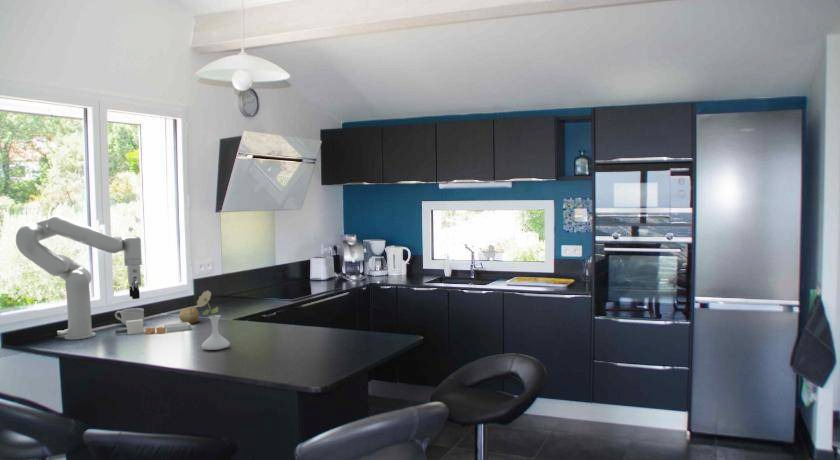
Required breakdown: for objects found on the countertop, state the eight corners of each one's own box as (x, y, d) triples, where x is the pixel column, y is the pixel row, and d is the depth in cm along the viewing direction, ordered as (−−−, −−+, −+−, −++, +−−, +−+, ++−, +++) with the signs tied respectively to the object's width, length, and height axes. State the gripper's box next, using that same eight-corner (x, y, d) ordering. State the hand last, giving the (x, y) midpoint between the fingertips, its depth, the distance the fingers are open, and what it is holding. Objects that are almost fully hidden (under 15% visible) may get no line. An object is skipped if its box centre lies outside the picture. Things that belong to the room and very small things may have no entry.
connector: (116, 336, 294) (115, 323, 294) (115, 334, 297) (114, 322, 297) (143, 332, 300) (143, 320, 300) (142, 331, 303) (142, 319, 303)
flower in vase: (220, 344, 269) (217, 287, 268) (235, 348, 262) (233, 288, 261) (192, 350, 259) (189, 290, 258) (207, 354, 251) (205, 292, 250)
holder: (167, 332, 298) (166, 327, 298) (164, 329, 306) (164, 324, 306) (191, 329, 304) (190, 324, 304) (187, 327, 311) (187, 322, 311)
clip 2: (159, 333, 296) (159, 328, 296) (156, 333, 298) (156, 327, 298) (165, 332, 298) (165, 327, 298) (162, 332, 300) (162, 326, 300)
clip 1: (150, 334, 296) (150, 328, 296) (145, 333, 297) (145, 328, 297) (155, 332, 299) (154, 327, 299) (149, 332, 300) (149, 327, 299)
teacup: (148, 323, 325) (147, 307, 325) (137, 327, 314) (136, 311, 314) (123, 323, 327) (122, 308, 326) (111, 327, 316) (110, 311, 316)
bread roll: (197, 319, 333) (196, 304, 332) (200, 324, 319) (200, 308, 319) (178, 321, 328) (177, 306, 328) (180, 326, 315) (180, 310, 315)
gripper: (144, 262, 295) (145, 298, 295) (139, 260, 309) (140, 294, 310) (126, 264, 291) (128, 300, 291) (122, 261, 305) (124, 296, 306)
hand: (134, 297), depth 301 cm, fingers open, 9 cm apart
